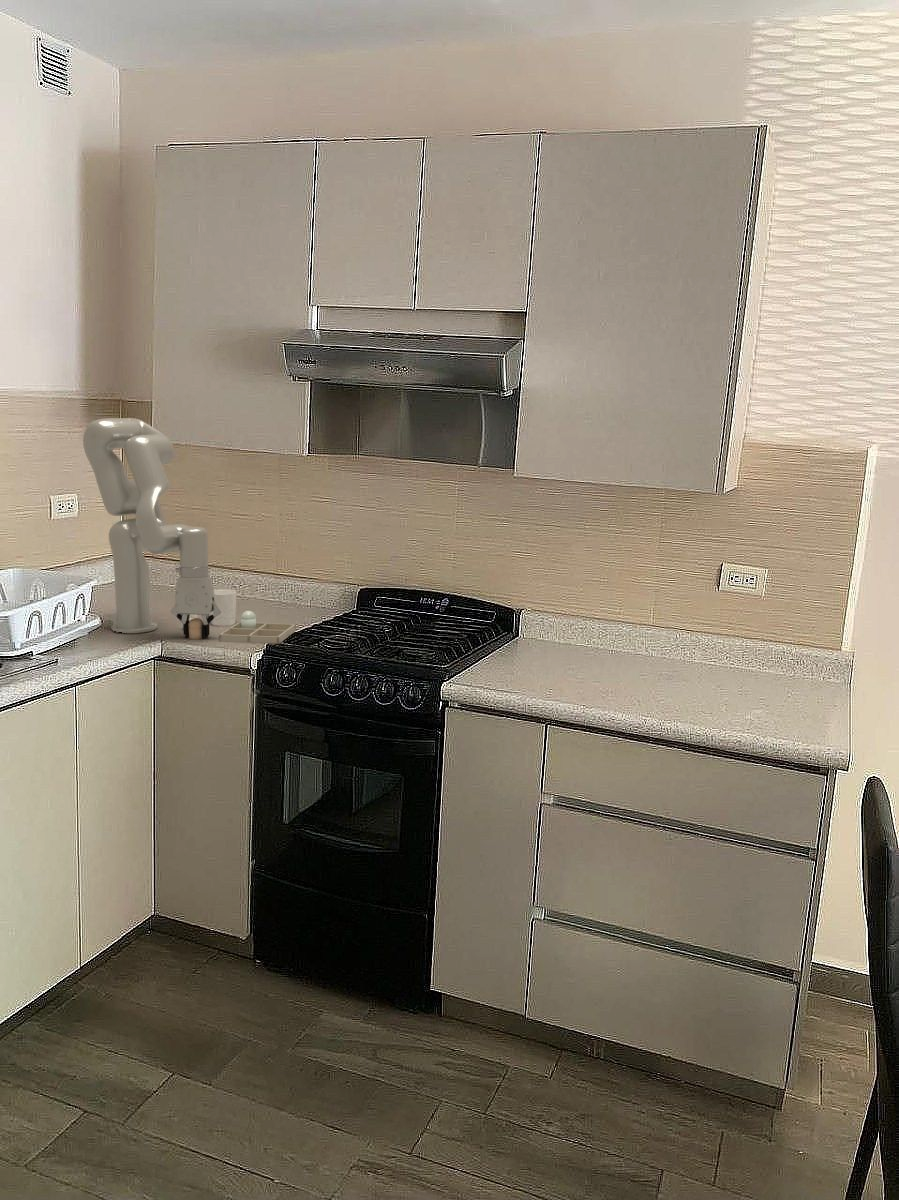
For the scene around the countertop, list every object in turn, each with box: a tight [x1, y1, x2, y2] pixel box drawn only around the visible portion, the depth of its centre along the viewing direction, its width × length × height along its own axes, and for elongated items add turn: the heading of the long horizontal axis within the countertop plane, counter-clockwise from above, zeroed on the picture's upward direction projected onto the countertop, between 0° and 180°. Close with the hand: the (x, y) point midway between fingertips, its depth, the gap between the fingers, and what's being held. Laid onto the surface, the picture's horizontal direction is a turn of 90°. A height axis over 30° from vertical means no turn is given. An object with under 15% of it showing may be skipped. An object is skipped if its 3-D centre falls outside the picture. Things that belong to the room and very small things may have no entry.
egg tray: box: [218, 621, 297, 645], centre depth 294 cm, size 17×17×2 cm
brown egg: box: [188, 617, 203, 640], centre depth 291 cm, size 4×4×6 cm
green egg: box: [240, 610, 257, 629], centre depth 298 cm, size 4×4×6 cm
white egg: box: [189, 614, 199, 622], centre depth 302 cm, size 4×4×6 cm
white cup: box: [209, 589, 237, 627], centre depth 309 cm, size 8×8×10 cm
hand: (196, 637), depth 291 cm, fingers closed on brown egg, 4 cm apart
